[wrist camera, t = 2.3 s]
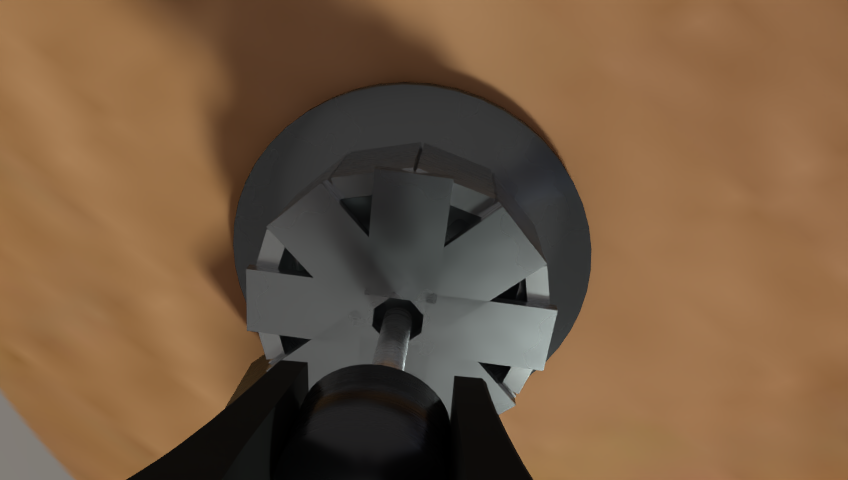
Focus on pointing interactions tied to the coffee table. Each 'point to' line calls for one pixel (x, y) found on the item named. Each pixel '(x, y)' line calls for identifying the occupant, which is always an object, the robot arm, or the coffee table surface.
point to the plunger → (371, 420)
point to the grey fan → (412, 239)
